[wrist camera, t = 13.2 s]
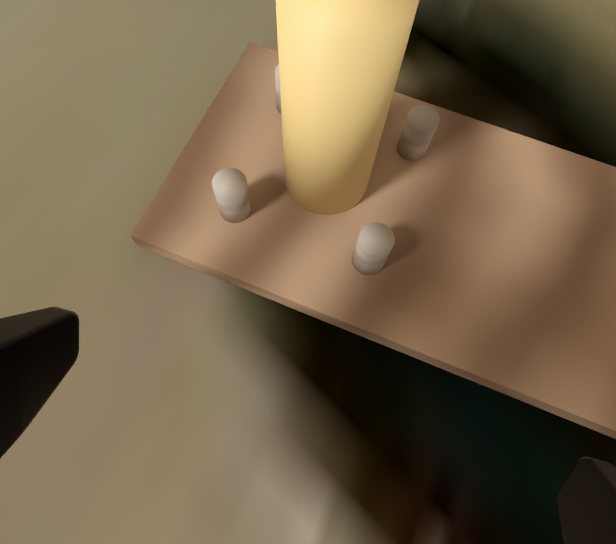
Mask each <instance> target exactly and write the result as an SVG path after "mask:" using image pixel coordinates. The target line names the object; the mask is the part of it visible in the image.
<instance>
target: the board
mask: <svg viewBox="0 0 616 544" xmlns="http://www.w3.org/2000/svg"><path fill="white" fill-rule="evenodd" d="M131 237H132V239H133V240H134V241H135V243H136V244H137V245H138V246H140V247H142V248H144V249H147V250H149V251H152V252H154V253H157V254H159V255H162V256H164V257H167V258H169V259H172V260H174V261H177V262H179V263H182V264H184V265H187V266H189V267H191V268H194V269H196V270H199V271H201V272H204V273H206V274H209V275H211V276H214V277H216V278H219V279H221V280H224V281H226V282H229V283H231V284H234V285H236V286H238V287H241V288H243V289H246V290H248V291H251V292H253V293H256V294H258V295H261V296H263V297H266V298H268V299H271V300H273V301H276V302H278V303H281V304H283V305H285V306H288V307H290V308H293V309H295V310H298V311H300V312H303V313H305V314H308V315H310V316H313V317H315V318H318V319H320V320H323V321H325V322H328V323H330V324H332V325H335V326H337V327H340V328H342V329H345V330H347V331H350V332H352V333H355V334H357V335H360V336H362V337H365V338H367V339H370V340H372V341H375V342H377V343H379V344H382V345H384V346H387V347H389V348H392V349H394V350H397V351H399V352H402V353H404V354H407V355H409V356H412V357H414V358H417V359H419V360H422V361H424V362H426V363H429V364H431V365H434V366H436V367H439V368H441V369H444V370H446V371H449V372H451V373H454V374H456V375H459V376H461V377H464V378H466V379H469V380H471V381H473V382H476V383H478V384H481V385H483V386H486V387H488V388H491V389H493V390H496V391H498V392H501V393H503V394H506V395H508V396H511V397H513V398H516V399H518V400H520V401H523V402H525V403H528V404H530V405H533V406H535V407H538V408H540V409H543V410H545V411H548V412H550V413H553V414H555V415H558V416H560V417H563V418H565V419H567V420H570V421H572V422H575V423H577V424H580V425H582V426H585V427H587V428H590V429H592V430H595V431H597V432H600V433H602V434H605V435H607V436H610V437H612V438H615V439H616V167H613V166H611V165H608V164H605V163H602V162H599V161H596V160H593V159H590V158H587V157H584V156H581V155H578V154H575V153H573V152H570V151H567V150H564V149H561V148H558V147H555V146H552V145H549V144H546V143H543V142H540V141H537V140H535V139H532V138H529V137H526V136H523V135H520V134H517V133H514V132H511V131H508V130H505V129H502V128H499V127H497V126H494V125H491V124H488V123H485V122H482V121H479V120H476V119H473V118H470V117H467V116H464V115H461V114H458V113H456V112H453V111H450V110H447V109H444V108H441V107H438V106H435V105H432V104H429V103H426V102H423V101H420V100H418V99H415V98H412V97H409V96H406V95H403V94H400V93H397V92H393V96H392V99H391V103H390V107H389V110H388V114H387V117H386V121H385V124H384V128H383V132H382V135H381V139H380V142H379V146H378V149H377V153H376V157H375V160H374V164H373V167H372V171H371V175H370V178H369V182H368V185H367V189H366V192H365V194H364V196H363V197H362V199H361V200H360V201H359V202H358V203H357V204H356V205H355V206H354V207H352V208H351V209H349V210H347V211H345V212H343V213H339V214H334V215H320V214H315V213H312V212H309V211H307V210H305V209H303V208H302V207H300V206H299V205H298V204H297V203H296V202H295V201H294V200H293V199H292V198H291V196H290V195H289V193H288V191H287V188H286V185H285V175H284V155H283V135H282V115H281V95H280V74H279V54H278V52H277V51H274V50H271V49H268V48H265V47H263V46H260V45H257V44H254V43H251V42H250V43H249V44H248V46H247V47H246V49H245V51H244V52H243V54H242V55H241V57H240V59H239V60H238V62H237V64H236V65H235V67H234V68H233V70H232V72H231V73H230V75H229V77H228V78H227V80H226V81H225V83H224V85H223V86H222V88H221V90H220V91H219V93H218V94H217V96H216V98H215V99H214V101H213V103H212V104H211V106H210V107H209V109H208V111H207V112H206V114H205V116H204V117H203V119H202V120H201V122H200V124H199V125H198V127H197V129H196V130H195V132H194V133H193V135H192V137H191V138H190V140H189V141H188V143H187V145H186V146H185V148H184V150H183V151H182V153H181V154H180V156H179V158H178V159H177V161H176V163H175V164H174V166H173V167H172V169H171V171H170V172H169V174H168V176H167V177H166V179H165V180H164V182H163V184H162V185H161V187H160V189H159V190H158V192H157V193H156V195H155V197H154V198H153V200H152V202H151V203H150V205H149V206H148V208H147V210H146V211H145V213H144V215H143V216H142V218H141V219H140V221H139V223H138V224H137V226H136V228H135V229H134V231H133V232H132V234H131Z"/></svg>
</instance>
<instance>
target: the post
mask: <svg viewBox="0 0 616 544" xmlns="http://www.w3.org/2000/svg"><path fill="white" fill-rule="evenodd" d="M418 3H419V0H276V14H277V34H278V54H279V74H280V95H281V115H282V135H283V155H284V175H285V185H286V188H287V191H288V193H289V195H290V196H291V198H292V199H293V200H294V201H295V202H296V203H297V204H298V205H299V206H300V207H302V208H303V209H305V210H307V211H309V212H312V213H315V214H320V215H334V214H339V213H343V212H345V211H347V210H349V209H351V208H352V207H354V206H355V205H356V204H357V203H358V202H359V201H360V200H361V199H362V197H363V196H364V194H365V192H366V189H367V185H368V182H369V178H370V175H371V171H372V167H373V164H374V160H375V157H376V153H377V149H378V146H379V142H380V139H381V135H382V132H383V128H384V124H385V121H386V117H387V114H388V110H389V107H390V103H391V99H392V96H393V92H394V89H395V85H396V81H397V78H398V74H399V71H400V67H401V64H402V60H403V56H404V53H405V49H406V46H407V42H408V39H409V35H410V31H411V28H412V24H413V21H414V17H415V13H416V10H417V6H418Z"/></svg>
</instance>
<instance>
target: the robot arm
mask: <svg viewBox="0 0 616 544" xmlns="http://www.w3.org/2000/svg"><path fill="white" fill-rule="evenodd" d="M78 352H79V318H78V315H77V314H76V313H75V312H73V311H69V310H66V309H62V308H59V307H50V308H45V309H41V310H36V311H32V312H27V313H23V314H18V315H14V316H10V317H5V318H1V319H0V458H1V457H2V456H3V455H4V454H5V453H6V451H7V450H8V449H9V448H10V447H11V446H12V445H13V444H14V442H15V441H16V440H17V439H18V438H19V437H20V435H21V434H22V433H23V432H24V431H25V429H26V428H27V427H28V425H29V424H30V423H31V422H32V420H33V419H34V418H35V416H36V415H37V413H38V412H39V411H40V409H41V408H42V407H43V405H44V404H45V403H46V401H47V400H48V398H49V397H50V396H51V394H52V393H53V392H54V390H55V389H56V388H57V386H58V385H59V384H60V382H61V381H62V379H63V378H64V377H65V375H66V374H67V373H68V371H69V370H70V369H71V367H72V366H73V364H74V363H75V361H76V359H77V356H78ZM558 510H559V516H560V522H561V528H562V534H563V540H564V544H616V468H615V467H614V466H613V465H611V464H609V463H607V462H604V461H601V460H597V459H593V458H590V457H582V458H581V459H579V460H578V461H577V462H576V464H575V466H574V467H573V469H572V470H571V472H570V474H569V475H568V477H567V478H566V480H565V481H564V483H563V485H562V486H561V488H560V490H559V493H558Z"/></svg>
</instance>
